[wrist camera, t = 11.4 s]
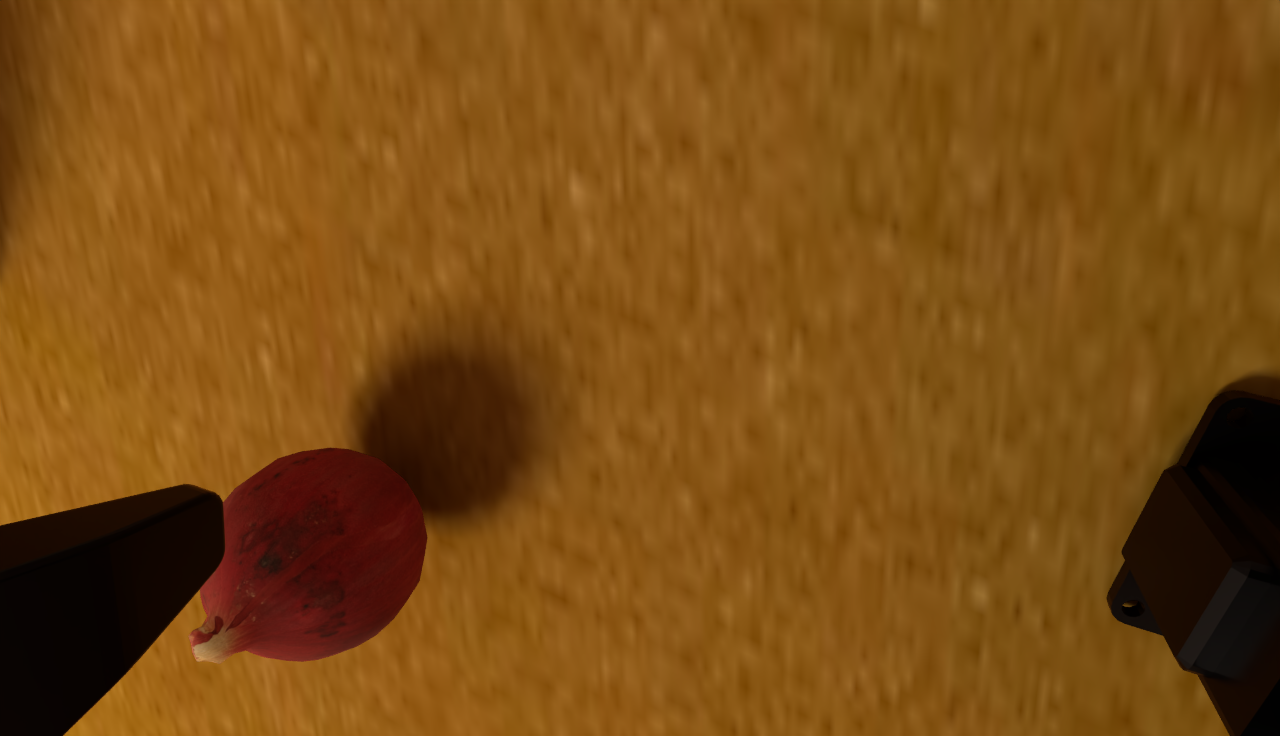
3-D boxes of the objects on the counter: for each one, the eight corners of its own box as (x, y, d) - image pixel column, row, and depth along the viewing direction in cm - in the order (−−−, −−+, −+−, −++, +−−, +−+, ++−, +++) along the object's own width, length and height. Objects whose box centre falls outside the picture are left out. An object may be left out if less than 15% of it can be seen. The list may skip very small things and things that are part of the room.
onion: (358, 372, 24) (142, 500, 17) (502, 485, 24) (344, 659, 17) (294, 489, 27) (82, 642, 20) (423, 591, 27) (259, 780, 20)
